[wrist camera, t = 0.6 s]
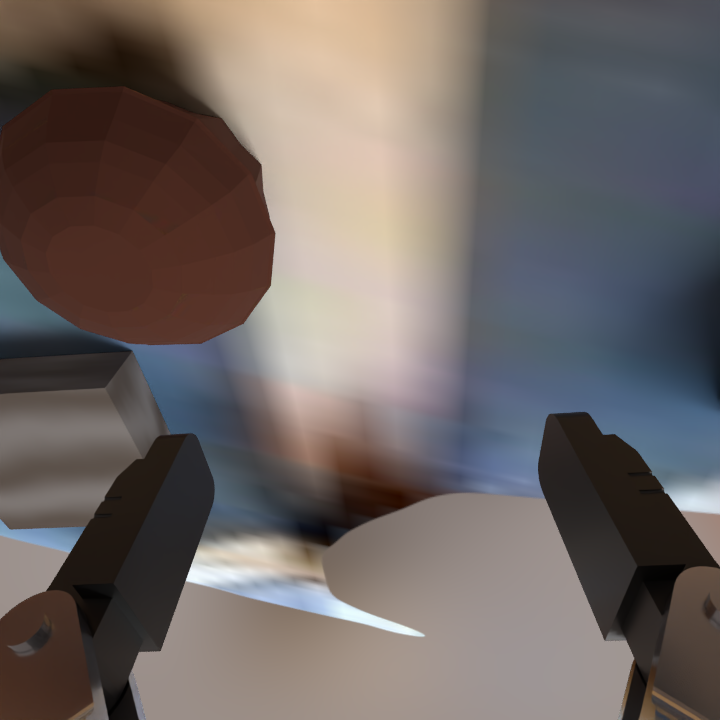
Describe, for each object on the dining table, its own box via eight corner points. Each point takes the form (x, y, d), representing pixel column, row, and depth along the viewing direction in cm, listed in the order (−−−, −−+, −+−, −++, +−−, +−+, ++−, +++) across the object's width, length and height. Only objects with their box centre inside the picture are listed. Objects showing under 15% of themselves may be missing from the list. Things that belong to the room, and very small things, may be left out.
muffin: (280, 70, 21) (227, 89, 13) (306, 282, 28) (281, 384, 19) (36, 81, 21) (-164, 106, 13) (117, 288, 28) (17, 390, 20)
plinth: (-60, 362, 31) (-109, 400, 28) (132, 351, 31) (104, 388, 27) (39, 489, 40) (9, 529, 36) (192, 482, 39) (177, 522, 36)
